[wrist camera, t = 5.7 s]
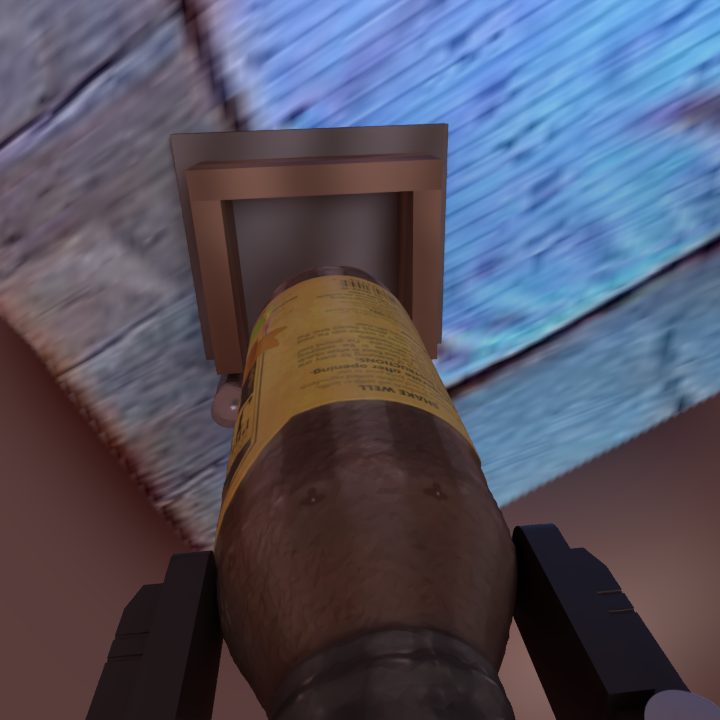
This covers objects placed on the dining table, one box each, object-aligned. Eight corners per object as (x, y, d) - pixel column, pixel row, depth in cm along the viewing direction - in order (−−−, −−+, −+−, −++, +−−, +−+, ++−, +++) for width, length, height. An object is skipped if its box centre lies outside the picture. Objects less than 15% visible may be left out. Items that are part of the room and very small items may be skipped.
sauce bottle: (230, 285, 21) (-153, 1257, 3) (387, 239, 21) (879, 995, 3) (284, 422, 24) (232, 1370, 6) (423, 382, 24) (799, 1231, 6)
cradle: (444, 123, 34) (472, 126, 28) (438, 337, 39) (460, 374, 34) (173, 134, 32) (148, 139, 27) (208, 353, 38) (193, 394, 33)
